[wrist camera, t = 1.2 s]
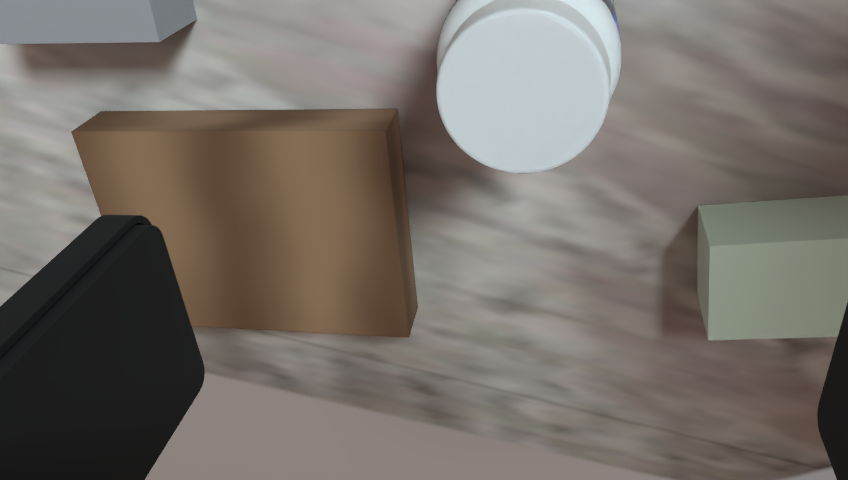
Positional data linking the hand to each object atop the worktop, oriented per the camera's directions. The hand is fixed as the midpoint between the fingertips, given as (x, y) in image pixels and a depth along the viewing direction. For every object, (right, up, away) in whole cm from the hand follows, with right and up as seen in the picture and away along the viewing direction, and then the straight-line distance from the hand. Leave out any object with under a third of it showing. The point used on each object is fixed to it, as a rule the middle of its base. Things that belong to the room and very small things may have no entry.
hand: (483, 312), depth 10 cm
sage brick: (+12, +1, +17) cm, 21 cm away
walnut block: (-7, +2, +20) cm, 21 cm away
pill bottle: (+3, +9, +14) cm, 16 cm away
